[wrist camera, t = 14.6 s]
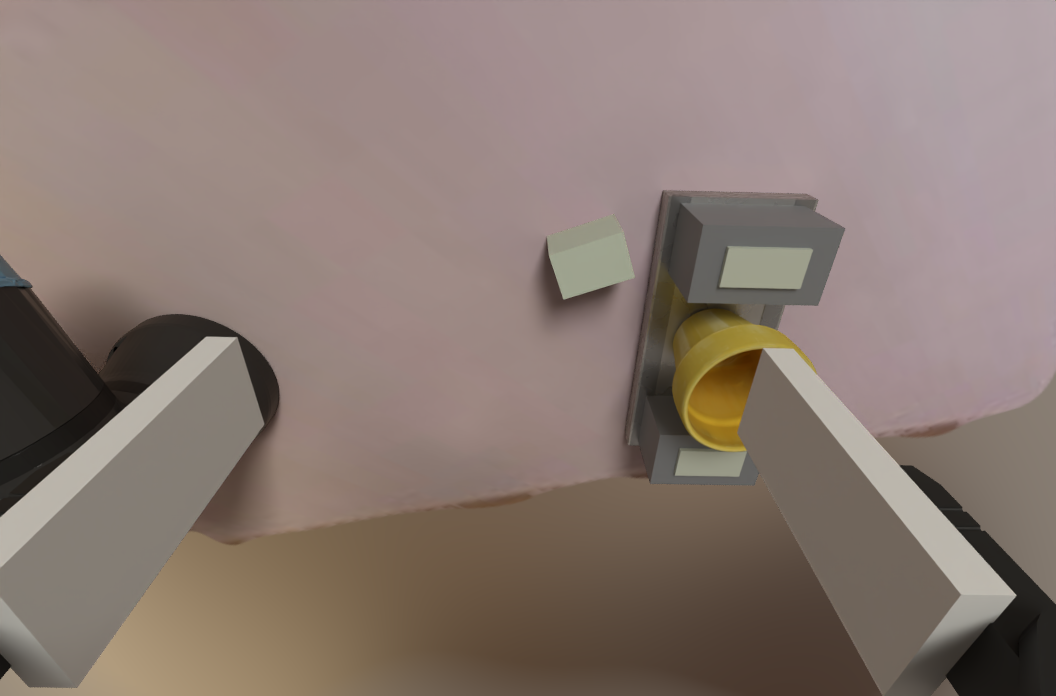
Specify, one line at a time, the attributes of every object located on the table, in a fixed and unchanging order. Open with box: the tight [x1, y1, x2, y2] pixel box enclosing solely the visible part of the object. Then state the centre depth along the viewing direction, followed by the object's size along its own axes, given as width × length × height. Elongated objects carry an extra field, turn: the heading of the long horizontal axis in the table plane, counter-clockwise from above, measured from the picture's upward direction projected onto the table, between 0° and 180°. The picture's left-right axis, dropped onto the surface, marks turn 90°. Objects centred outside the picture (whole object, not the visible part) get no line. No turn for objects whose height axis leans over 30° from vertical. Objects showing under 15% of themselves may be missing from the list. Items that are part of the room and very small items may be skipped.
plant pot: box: [672, 308, 817, 452], centre depth 42 cm, size 10×10×10 cm
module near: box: [668, 203, 845, 306], centre depth 39 cm, size 10×6×6 cm, turn 89°
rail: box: [625, 190, 818, 446], centre depth 47 cm, size 12×26×2 cm, turn 179°
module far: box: [638, 396, 759, 485], centre depth 48 cm, size 10×6×6 cm, turn 89°
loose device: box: [547, 214, 635, 299], centre depth 42 cm, size 6×4×5 cm, turn 109°
